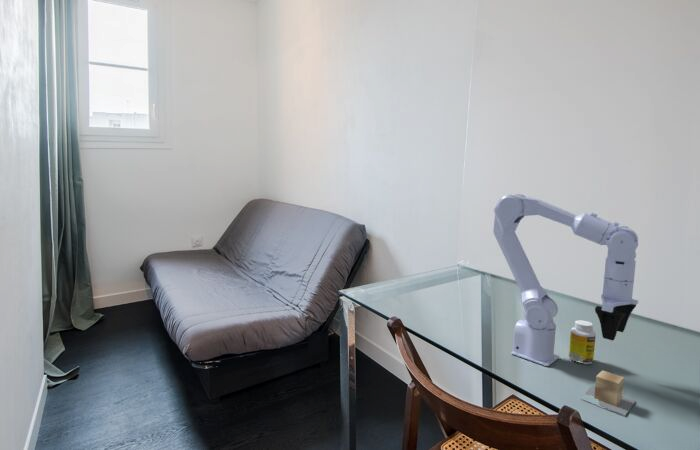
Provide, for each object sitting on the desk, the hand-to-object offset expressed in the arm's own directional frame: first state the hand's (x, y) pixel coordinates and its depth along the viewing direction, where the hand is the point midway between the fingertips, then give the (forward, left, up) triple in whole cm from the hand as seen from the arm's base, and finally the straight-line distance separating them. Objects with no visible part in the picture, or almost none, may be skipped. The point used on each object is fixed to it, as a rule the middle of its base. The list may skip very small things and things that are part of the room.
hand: (613, 334), depth 91 cm
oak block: (+3, -12, -10) cm, 16 cm away
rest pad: (+3, -13, -10) cm, 17 cm away
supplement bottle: (-7, +4, -11) cm, 14 cm away
